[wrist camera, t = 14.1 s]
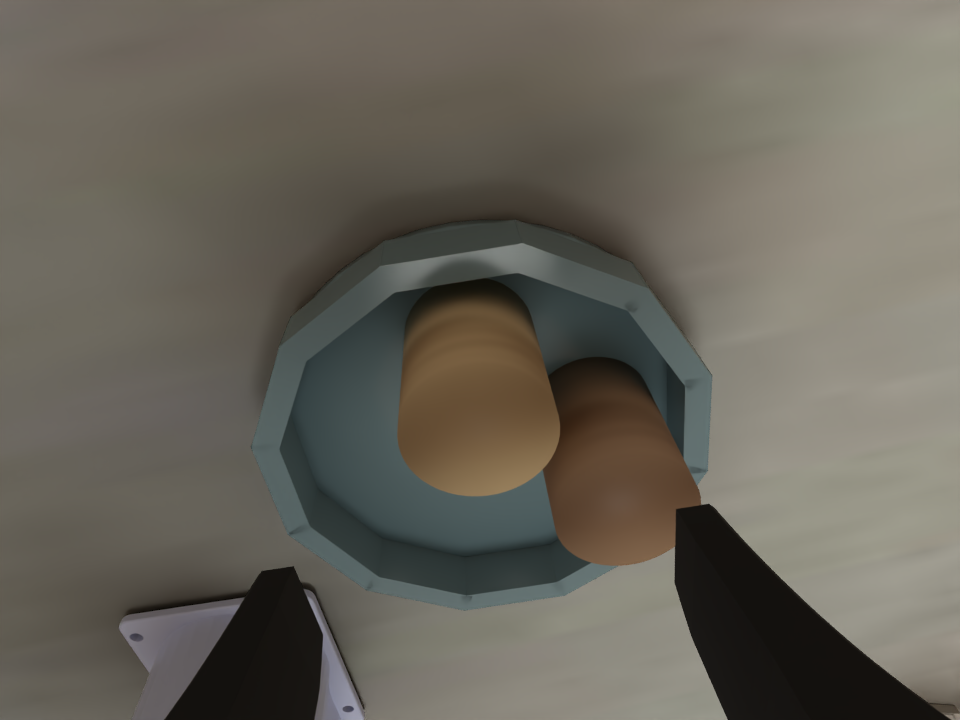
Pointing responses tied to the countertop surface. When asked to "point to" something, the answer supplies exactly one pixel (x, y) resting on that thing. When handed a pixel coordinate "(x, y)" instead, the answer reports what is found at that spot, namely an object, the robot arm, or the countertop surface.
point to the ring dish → (375, 408)
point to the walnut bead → (613, 466)
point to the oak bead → (474, 391)
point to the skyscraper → (948, 711)
